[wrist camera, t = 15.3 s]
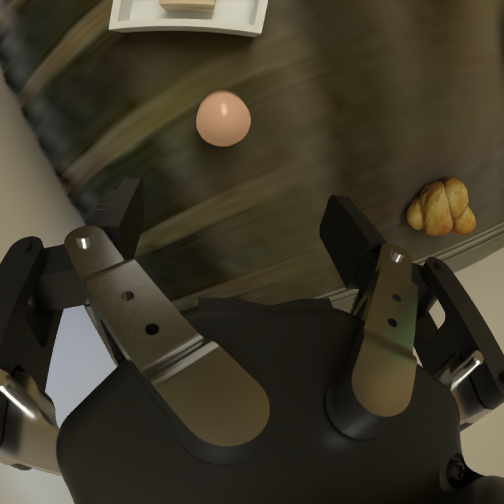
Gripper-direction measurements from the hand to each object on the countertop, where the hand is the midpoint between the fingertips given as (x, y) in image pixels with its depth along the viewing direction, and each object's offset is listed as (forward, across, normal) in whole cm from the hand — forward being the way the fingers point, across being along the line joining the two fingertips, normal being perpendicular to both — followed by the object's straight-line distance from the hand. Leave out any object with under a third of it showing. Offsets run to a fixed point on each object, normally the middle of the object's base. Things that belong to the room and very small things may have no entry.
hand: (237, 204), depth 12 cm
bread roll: (+23, -36, +7) cm, 44 cm away
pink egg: (+23, 0, 0) cm, 23 cm away
